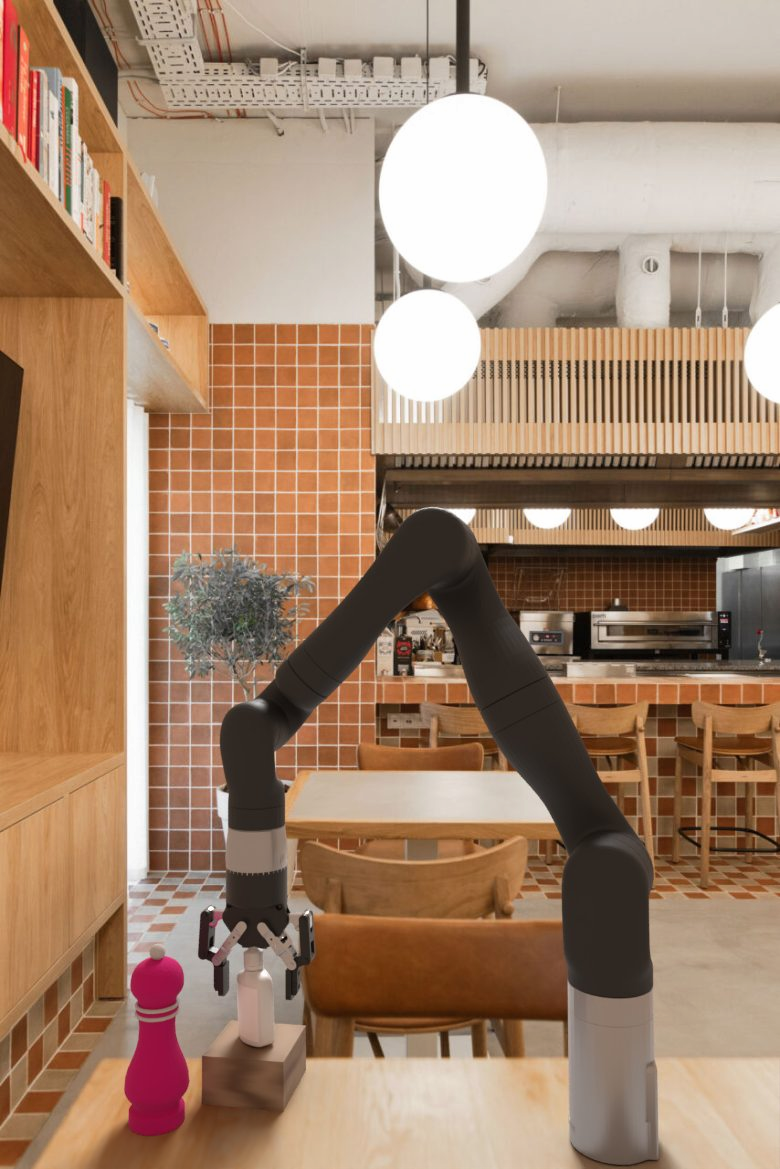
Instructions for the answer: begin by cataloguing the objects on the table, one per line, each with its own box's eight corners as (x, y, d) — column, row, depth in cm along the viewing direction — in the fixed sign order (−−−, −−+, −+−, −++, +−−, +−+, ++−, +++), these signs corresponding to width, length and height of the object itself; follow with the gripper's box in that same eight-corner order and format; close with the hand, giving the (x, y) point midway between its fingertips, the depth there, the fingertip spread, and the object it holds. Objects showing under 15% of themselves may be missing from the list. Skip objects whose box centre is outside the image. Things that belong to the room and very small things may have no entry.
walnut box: (306, 1073, 118) (305, 1025, 118) (283, 1114, 108) (283, 1062, 109) (230, 1067, 120) (230, 1020, 120) (201, 1107, 110) (201, 1055, 110)
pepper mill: (172, 1142, 102) (173, 957, 103) (112, 1135, 104) (113, 953, 104) (199, 1108, 109) (199, 935, 110) (142, 1102, 111) (142, 931, 112)
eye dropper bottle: (238, 1051, 111) (235, 948, 112) (238, 1032, 117) (235, 934, 117) (275, 1047, 112) (271, 944, 113) (273, 1028, 117) (270, 931, 118)
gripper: (320, 856, 117) (320, 987, 117) (212, 852, 120) (212, 981, 119) (305, 872, 110) (305, 1012, 109) (190, 868, 112) (190, 1004, 112)
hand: (256, 995), depth 114 cm, fingers open, 8 cm apart
